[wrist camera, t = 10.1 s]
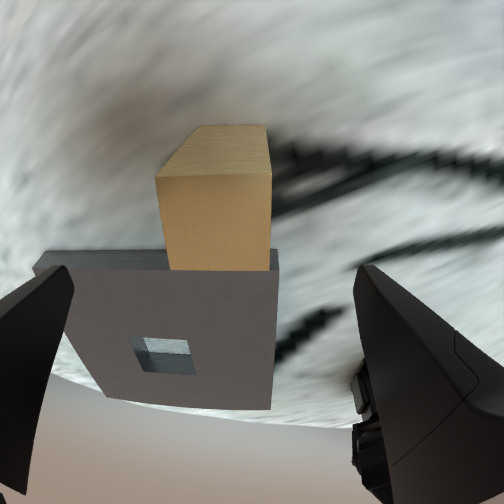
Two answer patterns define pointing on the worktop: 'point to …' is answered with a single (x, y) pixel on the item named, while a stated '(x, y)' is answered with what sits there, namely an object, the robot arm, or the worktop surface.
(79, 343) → the post plate
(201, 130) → the brass peg
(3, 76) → the worktop surface
